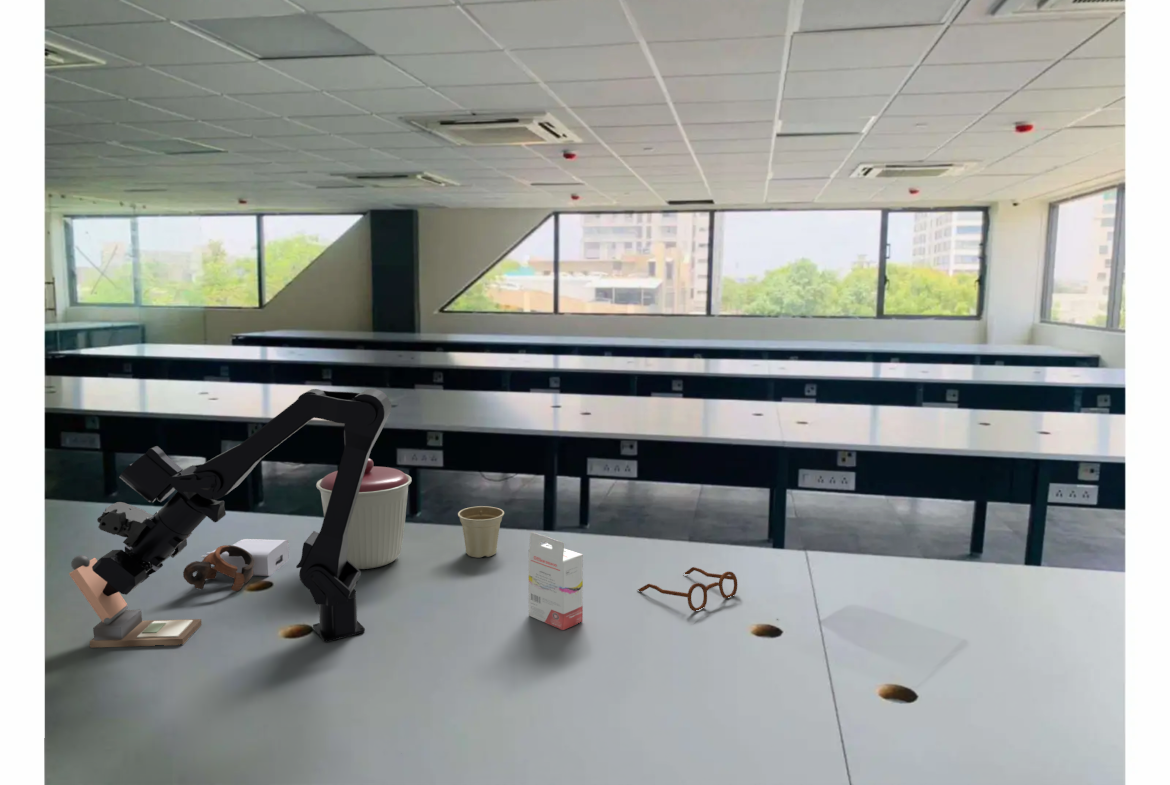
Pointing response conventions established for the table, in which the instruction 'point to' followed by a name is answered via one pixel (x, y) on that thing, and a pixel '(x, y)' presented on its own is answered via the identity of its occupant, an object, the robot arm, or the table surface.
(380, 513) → the canister
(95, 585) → the toggle lever
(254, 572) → the charger
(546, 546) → the ink cartridge box
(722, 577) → the glasses
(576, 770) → the table surface
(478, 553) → the flower pot
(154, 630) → the switch unit
